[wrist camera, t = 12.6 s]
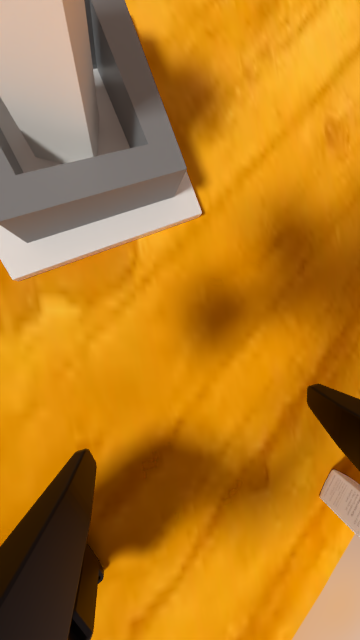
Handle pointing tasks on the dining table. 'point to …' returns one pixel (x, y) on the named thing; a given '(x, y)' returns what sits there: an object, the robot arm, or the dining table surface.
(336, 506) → the skincare box
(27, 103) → the connector
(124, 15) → the box
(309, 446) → the dining table surface
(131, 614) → the dining table surface
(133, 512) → the dining table surface
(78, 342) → the dining table surface
